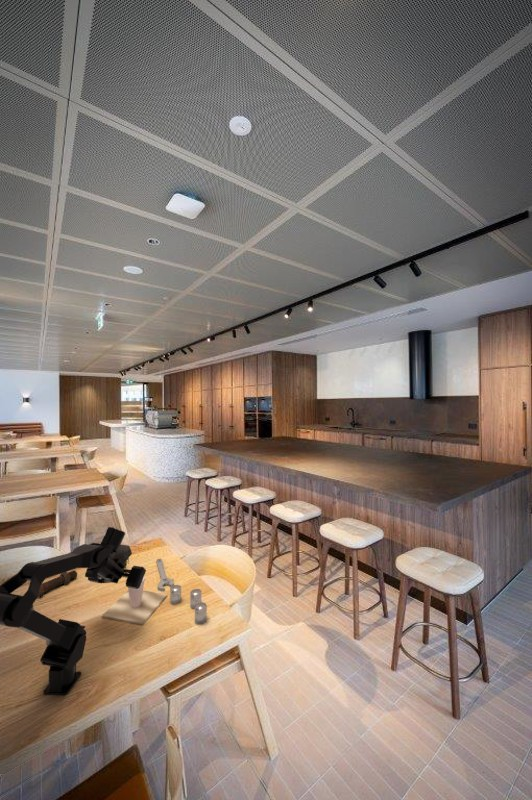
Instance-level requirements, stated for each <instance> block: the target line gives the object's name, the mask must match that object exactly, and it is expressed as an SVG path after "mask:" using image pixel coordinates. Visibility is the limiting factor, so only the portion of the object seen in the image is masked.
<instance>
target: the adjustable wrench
mask: <svg viewBox="0 0 532 800" xmlns="http://www.w3.org/2000/svg"><path fill="white" fill-rule="evenodd" d="M155 563H156V566H157V571H158V575H159V576H160V580H159V581H158V583H157V590H158V592H164V593H165V592H166V586H168V587H170V588H171V587H172V586H174V583H175V582H174V578H169V577H168V576H167V573H166V569H165V566H164V565H165V564H164V562H163V559H162V558H156V560H155Z"/></svg>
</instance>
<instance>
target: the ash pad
mask: <svg viewBox="0 0 532 800" xmlns="http://www.w3.org/2000/svg"><path fill="white" fill-rule="evenodd" d="M167 598H168V594H167V593H160V592H157V591H156V592H154V591H148V590H143V594H142V602H141V605H140V606H139V607H137V608H132V607H131V606H130V599H129V592H128V590H127V591H126V593H124V594H123V595H122V596H121V597H120V598H118V600H117V601H116V602H115V603H113V604H112V605H111V607H108V609H107V610H106V611H105V612H104V613H102V615H101V618H102V619H106V620H111V621H117V622H123V623H127V624H128V623H130V624H134V625H139V626H144V625H145V623H146V622H147V621H148V620H149V619H150V617H151V616H152V615H153V614H154V613H155V612H156V610H157V609H158V608H160V606H161V604H162V603H163V602H164V601H165V600H166V599H167ZM148 618H149V619H148ZM147 619H148V620H147Z"/></svg>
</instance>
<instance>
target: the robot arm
mask: <svg viewBox="0 0 532 800" xmlns="http://www.w3.org/2000/svg"><path fill="white" fill-rule="evenodd" d="M125 535H126V532H125V531H124V530H120V529H118V528H115V527H113V526H108V527H107V529H106V531H105V535H103V538H102V540H101V541H100V543H98V542H97V543H96V542H91V543H88V544H87V543H83V544H81V545H79V546H77V547H74V549H73V550H72V551H70V552H68V553H65V554H61V555H57V556H54V557H49V558H45V559H41V560H38V561H30V562H28V563H26V564H24V565H23V566H22V567H21V569H20V570H19V571H18V572H17V573H15V574H14V575H13V576H11V577H10V578H9V579H7V580H5V581H4V582H3V583H1V584H0V626H3V627H9V628H17V629H19V630H22V631H24V632H26V633H28V634H31V635H32V636H35V637H37V638H39V639H42V640H44V641H45V645H46V648H45V649H44V652H43V654H42V656H41V657H40V659H39V661H40V663H41V665H42V666H48V667H49V669H48V684H47V685H46V687H45V688H44V690H43V692H42V694H43V695H44V694H45V695H60V696H61V695H62V696H66V695H68V694H69V692H70V690H71V689H72V688H73V686H75V684H76V682H77V681H78V680H79V678H80V676H81V675H82V671H77V663H79V662H80V660H81V659H82V658H83V655H84V651H85V646H86V641H87V631H86V630H85V629H86V625H81V624H80V622H78V621H71V620H66V619H62V618H59V619H58V621H55V620H54V619H51V618H49V617H48V616H45V614H42V613H40V612H38V611H36V610H35V609H34V604H35V602H36V600H38V598H37V597H38V594H39V590H40V586H41V584H42V583H44V582H45V580H46V579H49V578H52V577H55V576H57V575H61V573H64V572H71V571H73V570H76V569H85V570H86V571H85V573H84V577H85V578H87V581H89V582H91V583H96V584H108V583H109V584H118V583H119V581H120V580H121V578H125V579H126V581H125V587H126V588H127V589H128V588H133V589H138V588H139V587H140V585H141V582H142V580H143V577H144V576H145V575H146V572H147V570H146V568H145V567H144V566H140V565H133V566H132V567H131V568H130V569H127V568H126V567H127V565H128V563H125V562H126V561H127V562H128V558H129V559H130V557H131V556H132V553H133V551H132V549H131V547H130V545H128V544H122V542H123V540H124V537H125ZM27 582H29V585H28V587H27V588H28V589H27V590H26V591H25V593H24V594H23V595H21V594H14V593H13V592H15V591H16V590H17V589H19V588H21V587H22V586H23V585H24V584H26V583H27Z"/></svg>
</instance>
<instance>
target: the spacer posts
mask: <svg viewBox="0 0 532 800" xmlns="http://www.w3.org/2000/svg"><path fill="white" fill-rule="evenodd" d="M169 590H170V591H169V603H170V604H171V605H173V606H174V605H175V606H176V605H178V604H180V603H181V602H182V586H181V585H180V584H175V585H174V584H173V586H172V587H171V588H170V589H169ZM189 595H190V596H189V597H190V598H189V599H190V603H189V605H190V609H191V610H194V623H195V624H196V625H203V624H205V623H206V622H207V620H208V619H207V617H208V616H207V615H208V613H207V611H208V606H207V605H208V604H207V603H205V602H202V590H201V589H200V588H194V589H192V590H191V591H190V594H189Z"/></svg>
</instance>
